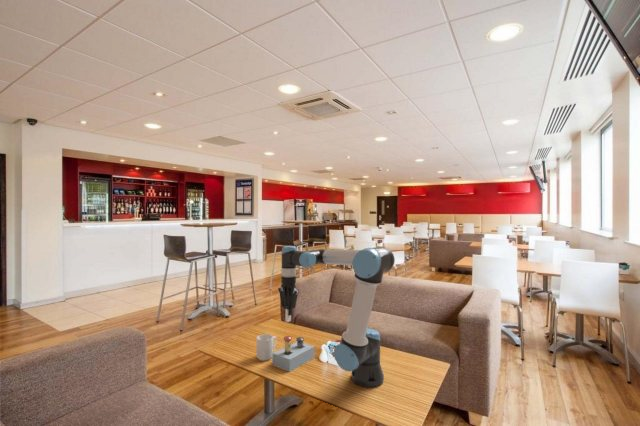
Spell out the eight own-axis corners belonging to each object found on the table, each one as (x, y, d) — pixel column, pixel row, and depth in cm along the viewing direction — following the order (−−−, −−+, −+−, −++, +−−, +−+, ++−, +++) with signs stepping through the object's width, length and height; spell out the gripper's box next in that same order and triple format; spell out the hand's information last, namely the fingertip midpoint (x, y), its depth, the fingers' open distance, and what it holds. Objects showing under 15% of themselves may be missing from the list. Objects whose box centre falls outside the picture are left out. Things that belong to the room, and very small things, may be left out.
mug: (263, 363, 167) (263, 341, 167) (253, 357, 173) (253, 337, 173) (280, 355, 175) (281, 335, 175) (270, 351, 181) (271, 331, 181)
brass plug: (293, 354, 166) (293, 337, 166) (287, 357, 162) (288, 339, 162) (287, 352, 168) (287, 335, 168) (282, 355, 165) (282, 337, 165)
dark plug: (305, 354, 174) (305, 338, 174) (300, 357, 170) (300, 340, 170) (299, 352, 176) (299, 336, 176) (294, 355, 173) (294, 338, 173)
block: (314, 357, 174) (314, 346, 174) (289, 371, 157) (289, 359, 158) (297, 351, 181) (297, 341, 181) (272, 364, 165) (272, 353, 165)
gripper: (302, 276, 165) (302, 321, 165) (284, 273, 173) (283, 316, 173) (293, 278, 159) (292, 325, 159) (274, 275, 167) (274, 320, 167)
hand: (288, 321), depth 166 cm, fingers closed
